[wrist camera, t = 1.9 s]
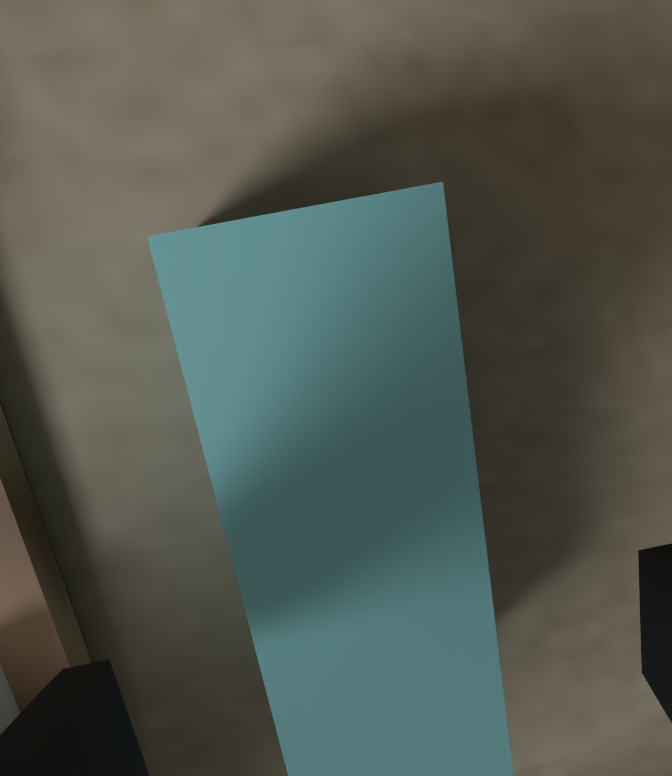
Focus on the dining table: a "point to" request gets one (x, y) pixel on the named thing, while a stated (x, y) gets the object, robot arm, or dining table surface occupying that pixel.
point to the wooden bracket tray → (29, 595)
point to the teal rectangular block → (347, 477)
